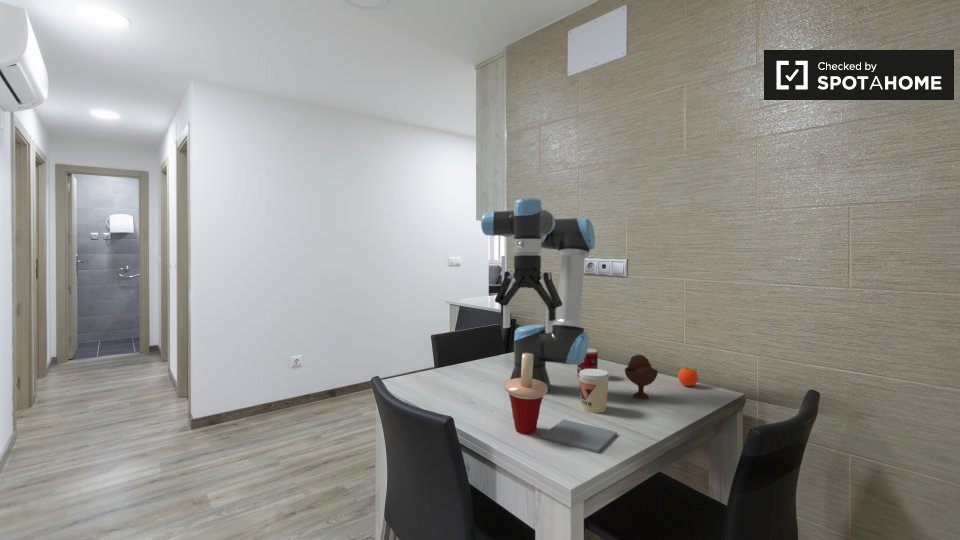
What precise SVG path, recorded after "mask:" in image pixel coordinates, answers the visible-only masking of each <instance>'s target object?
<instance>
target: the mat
mask: <svg viewBox="0 0 960 540" xmlns="http://www.w3.org/2000/svg"><path fill="white" fill-rule="evenodd" d="M617 435H618V431H615V430H612V429H611V430H610V429H607V428H603V427H598V426H593V425H590V424H586V423H581V422H577V421H572V420H568V419H562V420H561V421H559V422H558V423H557V424H555V425H554V426H552V427H551V428H549V429H548V430H546V431H545V432H544V433H542V434H541V438H542V439H545V440H548V441H552V442H556V443H558V444H559V443H560V444H562V445H566V446H569V447H575V448H578V449H581V450H585V451H589V452H593V453H595V454H599V453H600V452H601V451H602V450H603V449H604V448H605V447H606V446H607V445H608V444H609V443H610V442H611V441H612V440H614V438H615V437H616V436H617Z"/></svg>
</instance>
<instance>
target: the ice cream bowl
mask: <svg viewBox="0 0 960 540" xmlns="http://www.w3.org/2000/svg"><path fill="white" fill-rule="evenodd" d="M627 365H628V366H627V367H625V368H624V374H625V377H626V378H627V379H628V380H629V381H630V382H632V383H633V384H634V385H637V387H638V388H637V389H638V390H637V391H636V392H634V393H633V394H632V397H633V398H634V399H636V400H637V399H638V400H649V399H650V396H649V395H648V394H647V393H645V392H644V391H645V389H644V388H645V386H649V385H651V384H652V383H653V382H654V381H655V380H656V379H657V376H658V373H659V370H658V369H655V368H654V367H652V364H651V363H650V362H649V359H648V358H647V357H646V356H644V355H643V354H635V355H633V356H632V357H631V358H630V359H629V362H628V364H627Z"/></svg>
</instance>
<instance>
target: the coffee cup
mask: <svg viewBox="0 0 960 540" xmlns="http://www.w3.org/2000/svg"><path fill="white" fill-rule="evenodd" d="M579 376H580V378H579V391H580V392H579V393H580V405H581V409H583V411H585V412H586V411H587V412H588V413H590V414H591V413H593V414H601V413H602V414H603V413H604V412H606V410H607V402H608V391H609V378H610V374H609V372H608V371H606V370H604V369H599V368H597V369H583V370H581V371H580V373H579Z"/></svg>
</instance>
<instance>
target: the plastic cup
mask: <svg viewBox="0 0 960 540" xmlns="http://www.w3.org/2000/svg"><path fill="white" fill-rule="evenodd" d="M507 393H508V396H509V400H510V407H511V411H512V412H511V413H512V418H513V423H514V429H515V432H517V433H519V434H522V435H530V434H531V435H532V434H534V433H535V432H536V431H537V427H538V420H539V416H540V412H541V411H540V410H541V404H542V402H543V398H544V396H545V395H543V396H539V397H520V396H516V395H513V394H511V393H509V392H507Z"/></svg>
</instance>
